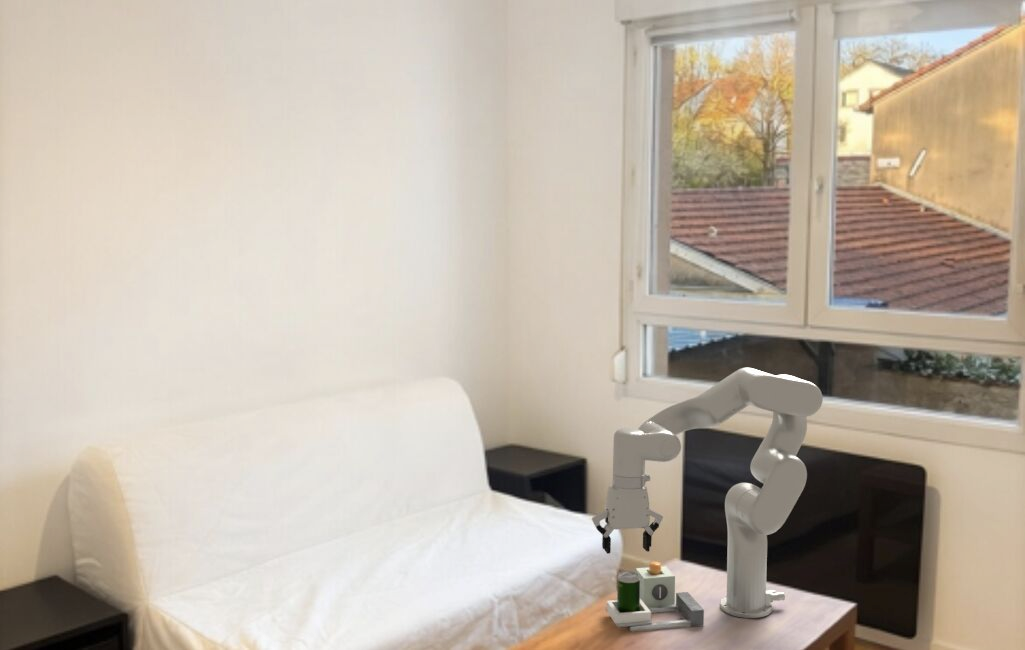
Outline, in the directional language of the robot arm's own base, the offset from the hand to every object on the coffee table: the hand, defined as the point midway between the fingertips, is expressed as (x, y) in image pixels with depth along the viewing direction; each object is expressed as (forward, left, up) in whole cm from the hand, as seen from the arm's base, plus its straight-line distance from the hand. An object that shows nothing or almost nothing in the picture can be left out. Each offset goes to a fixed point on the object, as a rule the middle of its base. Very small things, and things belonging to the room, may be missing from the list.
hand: (626, 550), depth 233 cm
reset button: (-11, -10, -10) cm, 18 cm away
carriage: (-1, 0, -16) cm, 17 cm away
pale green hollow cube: (-11, -10, -18) cm, 23 cm away
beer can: (-1, 0, -18) cm, 18 cm away
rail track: (-9, 0, -18) cm, 20 cm away
